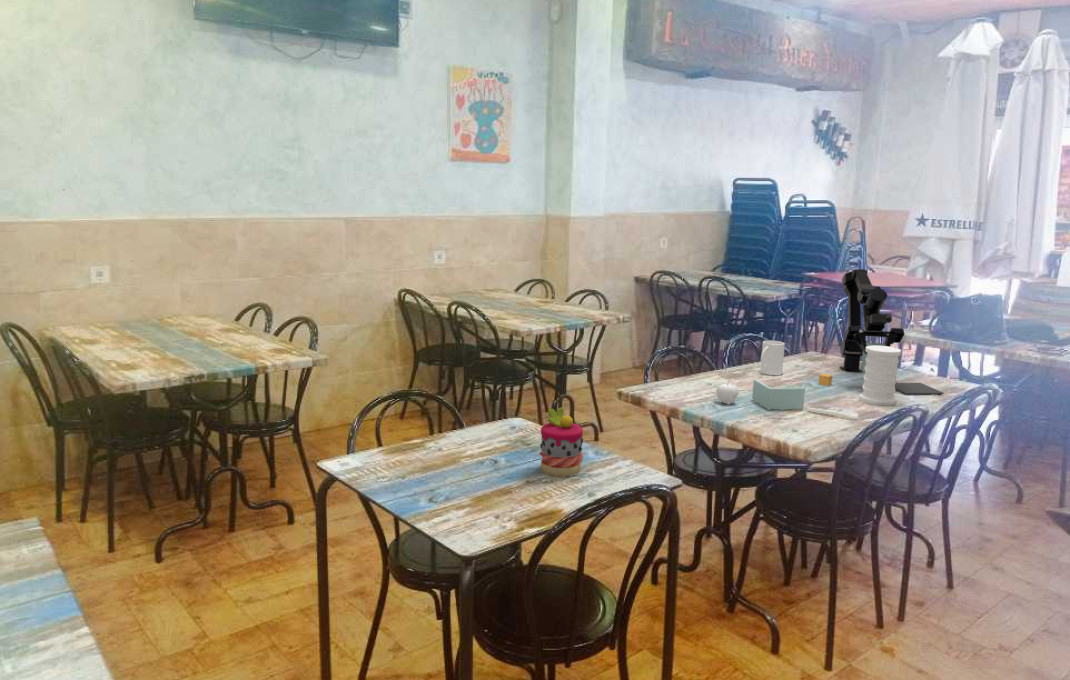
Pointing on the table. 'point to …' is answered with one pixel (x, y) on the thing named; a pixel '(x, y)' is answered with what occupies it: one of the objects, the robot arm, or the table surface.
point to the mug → (772, 357)
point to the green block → (866, 355)
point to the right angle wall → (778, 396)
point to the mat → (915, 389)
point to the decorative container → (880, 375)
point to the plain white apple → (727, 392)
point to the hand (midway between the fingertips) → (876, 354)
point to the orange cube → (825, 379)
